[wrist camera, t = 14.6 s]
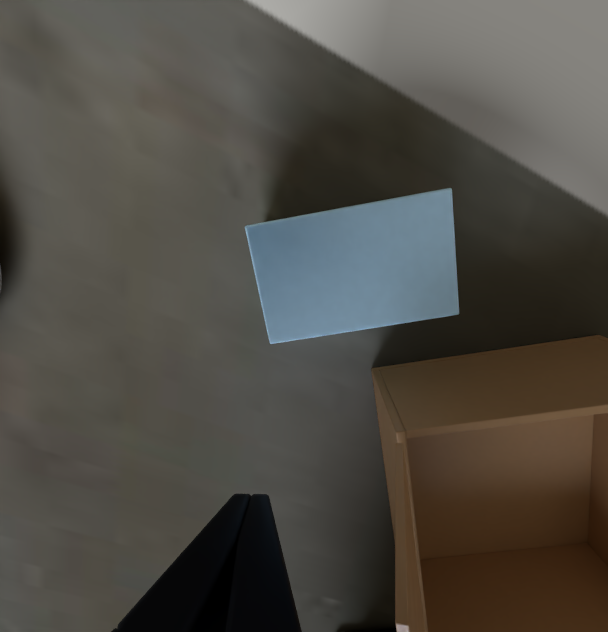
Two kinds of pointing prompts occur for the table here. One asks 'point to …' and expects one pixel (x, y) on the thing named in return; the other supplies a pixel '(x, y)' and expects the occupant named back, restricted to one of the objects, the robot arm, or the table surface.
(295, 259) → the case
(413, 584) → the flap
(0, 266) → the flower in vase
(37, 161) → the table surface
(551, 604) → the carton
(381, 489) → the table surface
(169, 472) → the table surface
